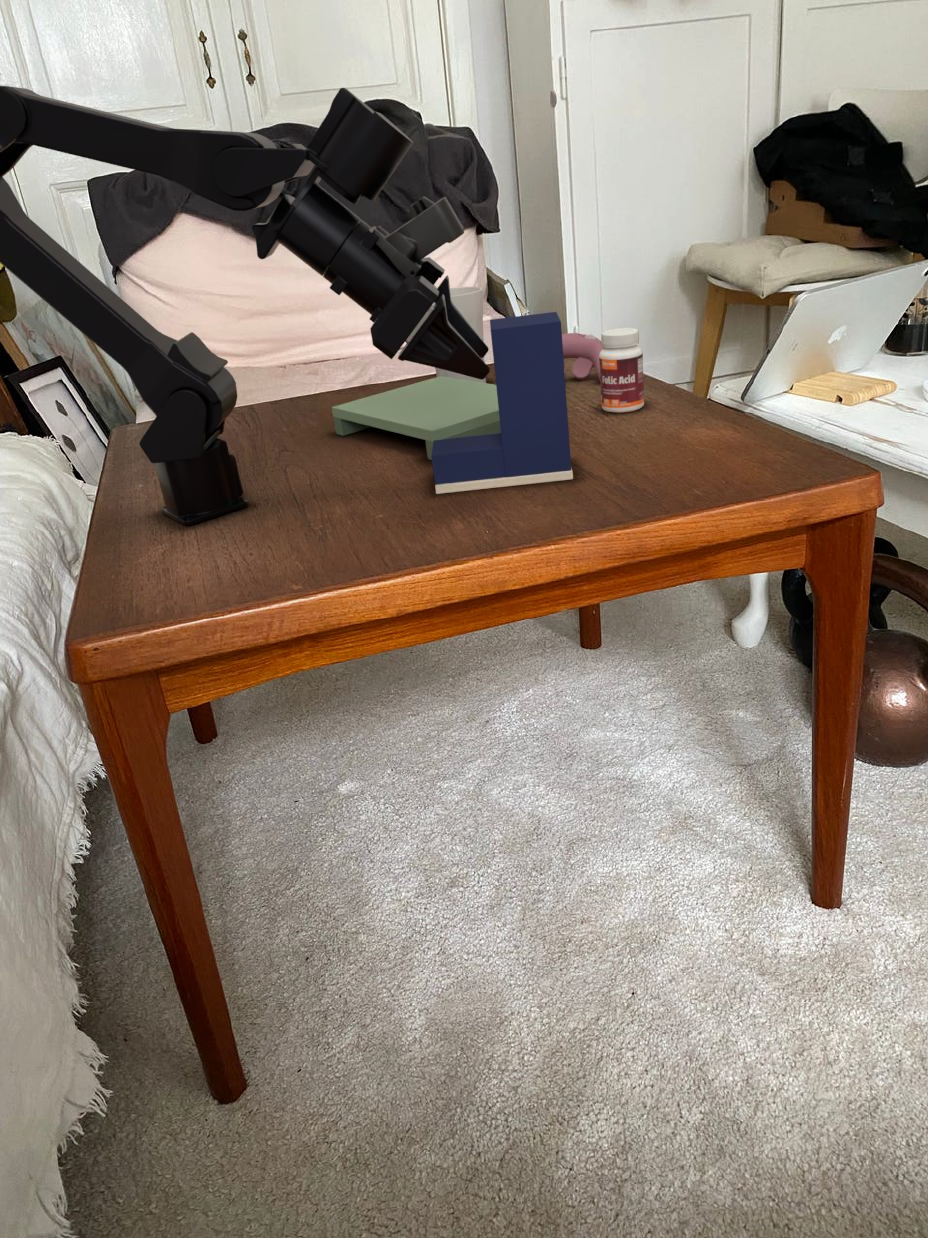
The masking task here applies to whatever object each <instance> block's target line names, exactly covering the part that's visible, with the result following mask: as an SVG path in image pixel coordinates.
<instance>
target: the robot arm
mask: <svg viewBox="0 0 928 1238" xmlns="http://www.w3.org/2000/svg"><path fill="white" fill-rule="evenodd" d="M413 144H414V142H413V140H411V138H410V137H409V136H408V135H406V134H405V133H404V132H403V131H402V130H401V129H400V128H399V127H398V126H396V125H395V124H394V123H393V122H391V121H390V119H388V118H387V117H386V116H385V115H383V114H382V113H381V112H378V111H375V110H374V109H372V108H371V107H370V106H368V104H366V103H365V102H364V101H362V100H361V99H360V98H358V96H356V95H355V94H354V93H352V92H351V91H350V90H349V89H348V88H346V87H340V88H339V89H338V91H337V93H336V95H335V96H334V97H333V100H332V102H331V104H330V107H329V110H328V112H327V114H326V116H325V117H324V119H323V120H322V122H321V123H320V125H319V127H318V128H317V129H316V131H315V133H314V135H313V136H312V138H311V139H310V141H309V143H308V144H307V146H306V147H305V146H304V145H303V144H301V143H291V144H290V145H289V147H277V146H276V144H275V142H273V141H272V140H271V139H269V138H268V137H267V136H264V135H262V134H260V133H256V132H255V133H254V132H244V131H227V130H211V129H210V130H208V129H190V128H174V127H169V126H165V125H161V124H157V123H153V122H149V121H145V120H141V119H137V118H132V117H128V116H126V115H125V116H124V115H121V114H117V113H112V112H109V111H105V110H101V109H97V108H92V107H88V106H84V105H81V104H76V103H72V102H69V101H68V102H67V101H64V100H60V99H56V98H52V97H49V96H43V95H40V94H39V93H37V92H34V91H33V90H31V89H29V88H25V87H17V86H11V85H10V86H9V85H0V264H1V266H3V267H4V268H5V269H7V270H8V271H9V272H10V273H11V274H12V275H13V276H14V277H16V278H17V279H18V280H19V281H21V282H22V283H23V284H24V285H25V286H27V287H28V289H30V290H31V291H32V292H34V293H35V294H36V295H37V296H38V297H39V298H41V299H42V300H43V301H44V302H45V303H47V304H48V305H49V306H50V307H51V308H52V309H54V310H55V312H57V313H58V314H59V315H61V316H62V317H63V318H64V319H65V320H67V322H69V323H70V324H71V325H72V326H73V327H75V328H76V329H77V330H78V331H79V332H81V333H82V334H83V336H85V337H86V338H87V339H89V340H90V341H91V342H92V343H93V344H94V345H96V346H97V347H98V348H99V349H101V351H103V352H104V353H105V354H106V355H107V356H109V357H110V358H111V359H112V360H114V361H115V362H116V363H117V364H118V365H119V366H120V367H122V369H124V371H125V372H126V373H127V375H128V377H129V379H130V380H131V382H132V383H133V386H134V387H135V389H136V391H137V392H138V395H139V396H140V398H141V400H142V401H143V403H144V404H145V405H146V406H147V408H149V410H151V412H152V413H153V414H154V415H155V418H154V420H153V421H152V422H151V424H150V425H149V427H148V429H147V430H146V431H145V433H144V435H143V436H142V437H141V438H140V441H139V444H138V445H139V447H140V448H141V450H142V451H143V453H144V454H145V456H146V457H147V459H148V461H150V463H151V464H154V468H155V472H156V476H157V479H158V483H159V487H160V491H161V494H162V498H163V502H164V505H163V506H161V507H160V508H159V509H160V513H161V514H163V515H165V516H167V517H168V518H171V519H172V520H174V521H175V522H178V523H180V524H181V525H183V526H190V525H194V524H198V523H200V522H203V521H206V520H210V519H212V518H215V517H219V516H222V515H225V514H228V513H230V512H233V511H236V510H240V509H243V508H246V507H248V506H249V503H248V500H247V499H245V498H243V495H244V489H243V486H242V480H241V476H240V472H239V468H238V465H237V459H236V455H234V454H233V453H231V452H230V451H229V447H228V443H227V441H226V440H224V439H221V438H219V436H220V435H222V434H223V433H224V431H225V424H226V419H227V418H228V417H229V416H230V415H231V414H232V412H233V411H234V409H235V407H236V405H237V401H238V389H237V382H236V379H235V378H234V376H233V375H232V373H231V372H230V371H229V370H228V369H227V368H226V367H225V366H226V365H228V364H229V362H228V360H227V359H225V358H223V357H220V356H218V355H216V354H215V353H214V352H212V350H211V349H209V347H207V345H206V344H205V343H204V342H203V340H202V339H201V338H200V337H199V336H198V335H197V334H195V333H194V332H192V331H191V332H189V333H188V334H186V335H184V336H183V337H181V338H180V339H179V340H177V339H175V338H173V337H171V336H168V335H166V334H164V333H162V332H161V331H159V330H157V328H155V327H154V326H153V325H152V323H150V322H149V321H147V320H146V319H145V318H144V317H143V316H142V315H141V314H139V313H138V312H137V311H136V310H135V309H134V308H133V307H131V306H130V305H129V304H128V303H127V302H125V301H124V300H123V299H122V298H121V297H120V296H119V295H118V294H116V293H115V292H114V291H113V290H112V289H111V288H110V287H108V285H106V284H105V283H104V282H103V281H102V280H100V279H99V277H97V276H96V275H95V274H94V273H93V272H91V271H90V269H88V268H87V267H86V266H85V265H83V264H82V262H80V261H79V260H78V259H76V257H75V256H73V255H72V254H71V253H70V252H69V251H67V250H66V249H65V248H64V247H63V246H62V245H61V244H60V243H58V242H57V241H56V240H55V239H54V238H53V237H51V235H50V234H48V233H47V232H46V231H45V230H44V229H42V227H40V226H39V225H38V224H37V223H36V222H35V221H33V220H32V219H31V218H30V217H29V216H28V215H27V213H26V212H25V211H24V209H23V207H22V206H21V203H20V201H19V200H18V199H17V197H16V194H15V192H14V191H13V189H12V187H11V186H10V184H9V183H8V181H6V179H5V178H4V176H5V175H7V174H8V173H9V172H10V171H12V170H13V169H14V168H15V166H16V165H17V164H18V163H19V161H20V160H21V159H22V158H23V157H24V155H25V154H26V153H27V152H28V151H29V149H31V148H32V147H33V146H36V147H39V148H44V149H47V150H51V151H56V152H59V153H64V154H68V155H73V156H75V157H80V158H84V159H88V160H92V161H97V162H101V163H105V164H109V165H113V166H117V167H121V168H124V169H125V168H126V169H130V170H133V171H138V172H141V173H145V174H151V175H153V176H154V175H155V176H158V177H161V178H163V179H166V180H167V181H170V182H172V183H174V184H176V185H178V186H179V187H181V188H183V189H185V190H187V191H188V192H190V193H192V194H195V195H196V196H199V197H201V198H202V199H205V200H208V201H210V202H212V203H214V204H217V205H219V206H221V207H223V208H226V209H229V210H231V211H235V212H236V211H238V212H246V211H251V210H255V209H258V208H262V207H266V206H268V205H270V204H271V203H273V202H274V201H275V200H276V199H278V197H279V196H280V195H281V193H282V191H283V190H284V189H283V188H284V186H285V184H288V183H290V182H293V181H295V180H298V179H301V178H303V177H306V176H308V175H310V176H309V178H308V179H307V180H306V182H305V184H304V185H303V186H302V188H301V189H300V191H299V192H298V194H297V195H296V197H294V196H292V195H290V194H286V193H284V194H283V196H282V197H281V199H280V200H279V202H278V203H277V205H276V206H275V208H274V210H273V211H272V212H271V214H270V215H269V217H268V219H267V221H266V222H257V223H254V224H252V225H251V227H250V229H251V232H252V233H253V236H254V240H255V246H256V255H257V258H258V259H260V260H265V259H267V258H269V257H271V256H272V255H273V254H274V253H275V252H276V250H277V248H278V247H279V245H281V246H283V247H284V248H285V249H287V250H288V251H289V252H290V253H292V254H293V255H294V256H295V257H296V258H298V259H299V260H301V262H303V263H304V264H306V265H307V266H308V267H310V268H311V269H312V270H314V271H315V272H316V273H317V274H318V275H320V276H321V277H323V278H324V279H325V280H326V281H328V282H329V283H330V284H331V285H330V286H329V289H330V290H331V291H333V292H334V293H335V294H336V295H338V296H341V294H342V293H343V294H344V295H345V296H347V297H348V298H349V299H350V300H352V301H353V302H354V303H356V304H357V306H359V307H361V308H362V309H363V310H364V311H366V312H367V313H368V314H369V315H370V316H369V321H371V322H372V325H371V326H370V328H369V330H370V336H371V342H372V346H374V348H376V349H377V350H378V351H380V352H381V353H382V354H383V355H385V356H386V357H388V359H390V360H393V359H394V358H395V356H396V355H397V354H398V356H397V360H399V361H401V362H404V361H406V362H410V363H415V364H419V365H423V366H427V367H432V368H434V369H435V368H439V369H443V370H447V371H451V372H455V373H458V374H462V375H466V376H470V377H473V378H477V379H481V380H482V379H484V378H485V377H487V376H488V375H489V373H490V372H491V370H490V369H491V368H490V367H489V365H488V364H486V362H485V360H484V361H483V360H482V359H481V358H483V357H484V358H485V356H486V355H487V353H488V352H489V347H488V345H487V344H486V342H485V341H484V342H483V340H482V339H481V338H480V337H479V335H478V334H477V333H476V332H475V330H474V329H473V328H472V327H471V325H470V324H469V323H468V322H467V320H466V319H465V318H464V317H463V315H462V314H461V313H460V311H459V310H458V309H457V308H456V306H455V305H454V304H453V302H452V300H451V294H450V288H451V286H450V277H449V275H446V276H445V277H444V279H443V280H442V281H441V282H440V284H439V285H438V287H437V286H436V285H435V284H436V283H437V281H438V280H439V279H442V277H443V275H444V274H445V271H446V269H444V268H443V267H442V266H441V265H440V264H439V263H437V262H436V261H435V260H433V259H432V257H430V256H429V255H430V254H433V252H434V251H436V250H438V249H440V248H441V247H442V246H443V245H445V244H447V243H448V244H451V243H453V242H454V241H456V240H457V239H459V238H461V236H462V235H464V234H465V229H466V228H464V225H463V223H462V222H461V220H460V219H459V217H458V215H457V214H456V212H455V210H454V209H453V206H452V205H451V203H450V201H449V200H448V198H447V196H443V197H442V198H440V199H438V200H437V201H436V202H434V201H432V200H431V199H429V197H426V196H422V197H420V199H418V200H417V201H414V203H412V204H411V205H409V216H410V220H408V221H407V222H405V223H404V224H403V225H401V226H400V227H398V228H397V229H396V230H394V231H392V232H391V233H389V232H388V231H387V230H386V229H384V228H383V227H382V226H381V225H378V226H375V225H374V226H370V225H369V224H368V223H366V222H365V221H364V220H363V219H361V218H360V217H359V216H358V215H356V213H354V212H353V211H352V210H350V209H349V208H348V207H347V206H345V205H344V204H343V203H342V202H341V201H340V200H338V199H337V198H335V196H333V194H331V193H329V192H328V191H327V190H326V189H325V188H323V187H322V186H321V185H320V184H319V183H320V181H321V180H322V181H324V183H326V184H327V185H328V186H329V188H331V189H333V190H334V191H335V192H336V193H337V194H339V195H340V196H342V197H343V198H344V199H346V200H347V201H348V202H350V203H351V204H354V205H358V203H359V201H360V200H361V197H362V198H364V197H365V198H366V199H368V200H369V201H371V202H375V200H376V199H377V197H378V196H379V195H380V193H381V191H382V190H383V188H385V185H386V184H387V182H388V181H389V180H390V178H391V177H392V176H393V174H394V173H395V171H396V169H397V168H398V167H399V165H400V163H401V162H402V160H403V159H404V157H405V156H406V154H407V153H408V152H409V150H410V148H411V147H412V146H413ZM314 167H315V168H314ZM313 168H314V170H313ZM312 170H313V171H312ZM310 173H311V174H310ZM404 344H405V345H404ZM403 345H404V346H403ZM401 348H402V349H401ZM400 349H401V350H400ZM399 351H400V352H399Z"/></svg>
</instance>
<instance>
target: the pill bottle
mask: <svg viewBox="0 0 928 1238" xmlns="http://www.w3.org/2000/svg"><path fill="white" fill-rule="evenodd" d="M600 335H601V340H600V341H601V343H602V346H603V347H604V349H603V350H602V351H601V352H600V354H599V363H600V380H599V384H600V400H601V404H600V405H601V409H602V410H603V411H604V412H607V413H617V414H618V413H623V414H624V413H630V412H635V411H638V410H640V409H641V408H643V407H644V405H645V389H644V387H645V385H644V352H643V349H642V348H641V347H640V346H638V345H639V343H640V332H639V329H638V328H634V327H619V328H618V327H617V328H611V329H607V330H604V331H602V332H601V334H600Z"/></svg>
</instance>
